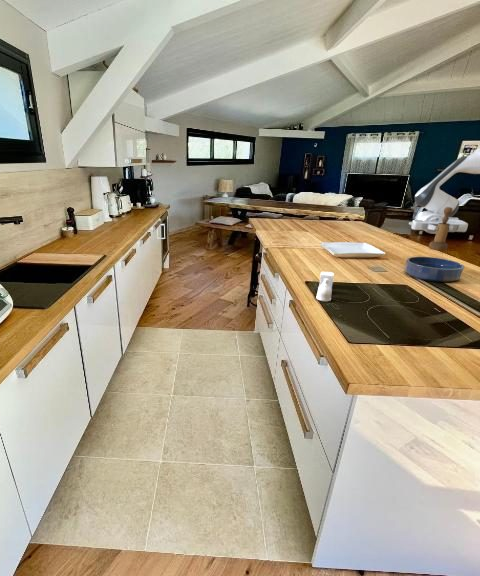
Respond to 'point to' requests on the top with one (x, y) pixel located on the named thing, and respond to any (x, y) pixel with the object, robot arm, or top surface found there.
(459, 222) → the robot arm
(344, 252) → the square plate
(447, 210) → the mortar and pestle
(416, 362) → the top surface
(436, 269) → the bowl
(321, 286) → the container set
